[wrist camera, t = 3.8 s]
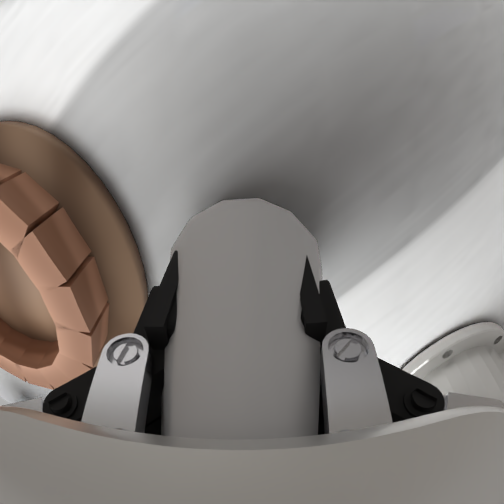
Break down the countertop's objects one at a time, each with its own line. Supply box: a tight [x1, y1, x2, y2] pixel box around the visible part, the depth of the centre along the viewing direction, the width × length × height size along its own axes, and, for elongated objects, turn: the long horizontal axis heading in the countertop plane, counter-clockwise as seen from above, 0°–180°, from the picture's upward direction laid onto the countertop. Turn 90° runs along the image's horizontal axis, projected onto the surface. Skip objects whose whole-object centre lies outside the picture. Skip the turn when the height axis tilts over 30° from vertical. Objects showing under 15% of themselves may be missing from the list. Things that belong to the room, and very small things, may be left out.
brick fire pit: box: [0, 121, 148, 390], centre depth 13 cm, size 18×18×4 cm
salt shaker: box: [161, 198, 322, 439], centre depth 8 cm, size 6×6×13 cm
